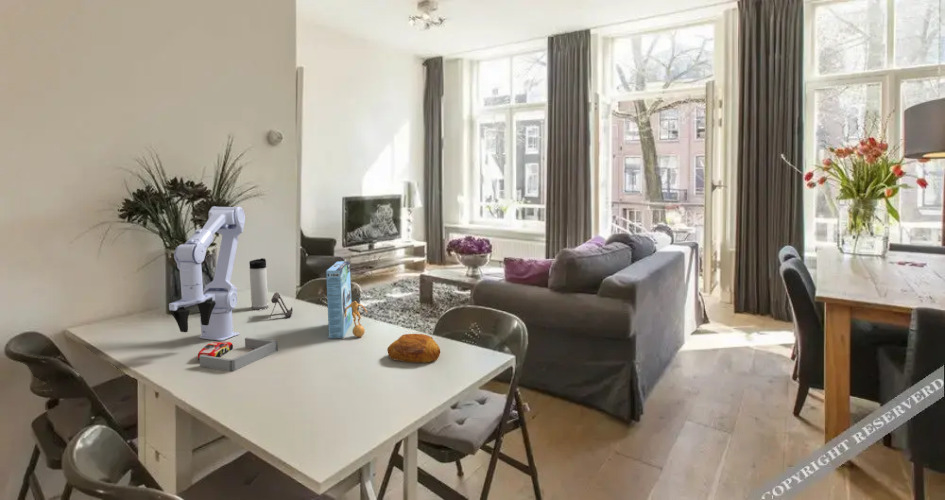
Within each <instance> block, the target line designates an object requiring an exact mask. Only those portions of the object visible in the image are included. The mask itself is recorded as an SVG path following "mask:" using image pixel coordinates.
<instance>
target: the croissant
mask: <svg viewBox="0 0 945 500" xmlns="http://www.w3.org/2000/svg"><path fill="white" fill-rule="evenodd" d="M387 353H388V357H389V358H390V359H391V360H392V361H398V362H403V363H405V362H406V363H419V364H420V363H424V364H426V363H431V362H435V361H437V360H439V358H440V353H441V348H440V346H439V345H438V343H437V342H436V341H435V339H433V337H432V336H430V335H427V334H423V333H406V334H402V335H401V336H399V337H398V338H397V339H396V340H394V341H393V342H392V343H391V344H390V345H389V346H388V347H387Z"/></svg>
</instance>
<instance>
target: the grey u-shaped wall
mask: <svg viewBox="0 0 945 500" xmlns="http://www.w3.org/2000/svg"><path fill="white" fill-rule="evenodd" d="M278 346H279V345H278V341H277V340H270V339H262V338H255V337H249V336H247V337H244V348H247V349H253V350H251V351H248V352H245V353H243V354H240V355H239V356H236V357H234V358H226V357H225V358H224V357H213V356H207V355H201V356H199V359H200V360H199V367H203V368H208V369H214V370H220V371H221V370H222V371H227V372H232V373H233V372H235V371H236V370H237V371H238V370H239V369H241V368H243V367H245V366H247V365H250V364H252V363H254V362H256V361H258V360H260V359H263V358H265V357H267V356H269V355H271V354H275V353H276V352H278Z"/></svg>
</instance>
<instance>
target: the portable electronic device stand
mask: <svg viewBox="0 0 945 500" xmlns="http://www.w3.org/2000/svg"><path fill="white" fill-rule="evenodd" d="M270 300H271V303H272V304H274V306H273V309H272V311H271V313H270V316H269V319H271V317H272V315H273V313H274V310H275V307H276V305H277V303H278V305H279V307H280V308H281V310H282V312H283V315H284V316H285V317H286V319H290V318H291V317H292V315H293V306H291V307H290V309H288V308H287V306H286V304H285V303H284V300H283V298H282V297H281V295H280V293H279V292H274V293H273V296H272V297H271V299H270Z"/></svg>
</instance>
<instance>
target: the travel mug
mask: <svg viewBox="0 0 945 500" xmlns="http://www.w3.org/2000/svg"><path fill="white" fill-rule="evenodd" d="M248 264H249V278H250V279H249V281H250V282H249V283H250V300H251V301H250V302H251V309H252V310H254V309H257V310H256V311H259V310H258V309H262V310H265V308H266V309H268V308H269V291H268V273H267V272H268V271H267V260H266V258H263V257H262V258H256V259H253V260H250V261H249V263H248Z"/></svg>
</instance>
